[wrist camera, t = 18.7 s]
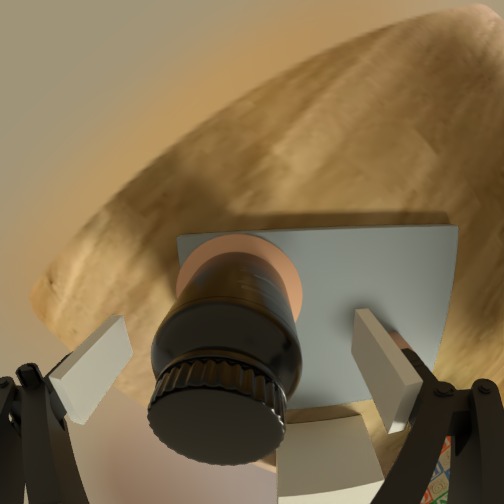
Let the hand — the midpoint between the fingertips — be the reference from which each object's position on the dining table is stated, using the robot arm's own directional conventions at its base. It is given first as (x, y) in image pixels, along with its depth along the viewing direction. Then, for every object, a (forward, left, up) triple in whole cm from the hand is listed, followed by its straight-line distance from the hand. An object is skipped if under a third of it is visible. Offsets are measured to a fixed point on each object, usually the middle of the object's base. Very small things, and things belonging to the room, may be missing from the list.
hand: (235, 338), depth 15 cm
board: (-7, +3, -7) cm, 10 cm away
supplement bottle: (0, 0, -5) cm, 5 cm away
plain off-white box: (-7, +19, -7) cm, 21 cm away
